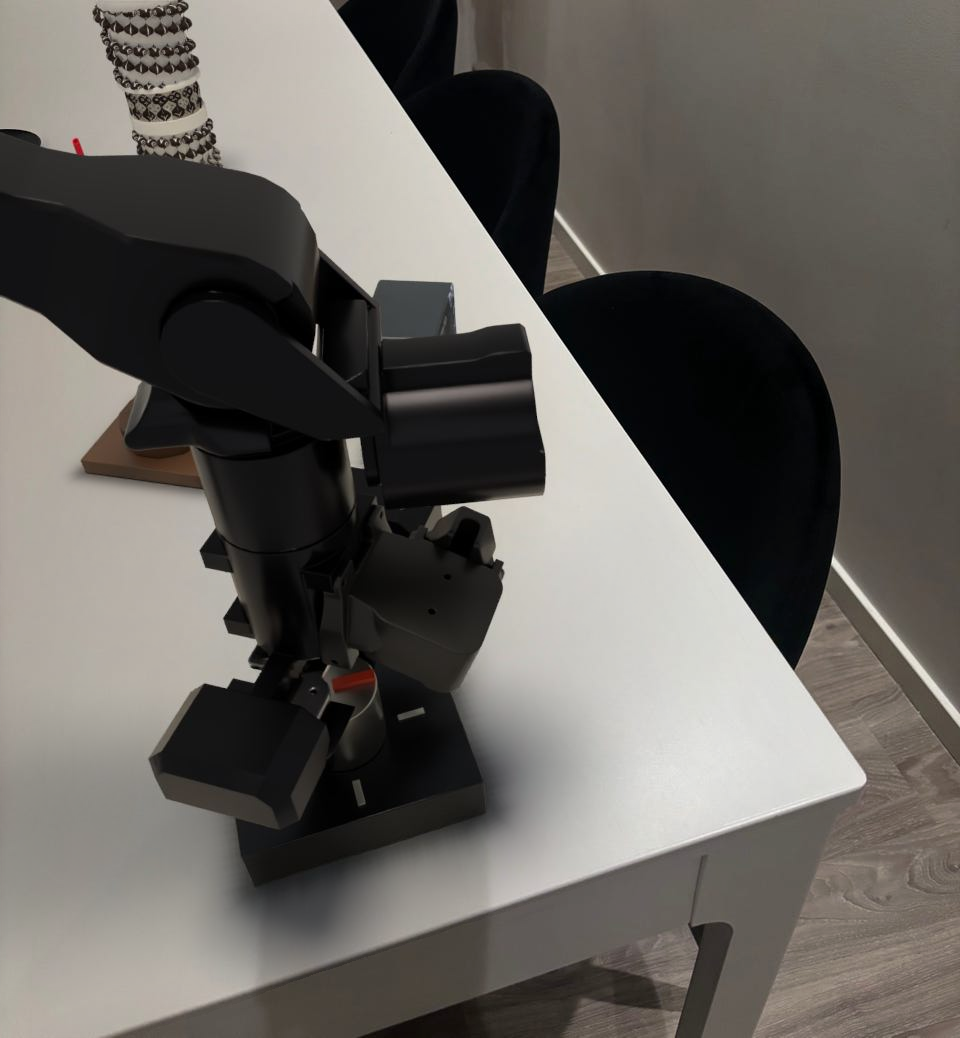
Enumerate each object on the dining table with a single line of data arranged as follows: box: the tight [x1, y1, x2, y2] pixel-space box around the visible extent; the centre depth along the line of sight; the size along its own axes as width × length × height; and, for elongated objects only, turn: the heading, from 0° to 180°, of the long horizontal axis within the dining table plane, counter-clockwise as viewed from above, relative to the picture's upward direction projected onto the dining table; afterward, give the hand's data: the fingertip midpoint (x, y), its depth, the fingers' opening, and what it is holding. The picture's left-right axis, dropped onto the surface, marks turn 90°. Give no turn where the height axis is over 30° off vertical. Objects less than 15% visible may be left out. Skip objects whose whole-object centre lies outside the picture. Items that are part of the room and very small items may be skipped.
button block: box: [80, 394, 203, 489], centre depth 72 cm, size 10×9×3 cm
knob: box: [324, 657, 386, 771], centre depth 48 cm, size 4×4×4 cm
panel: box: [234, 662, 487, 887], centre depth 51 cm, size 12×10×3 cm
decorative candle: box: [92, 0, 224, 168], centre depth 99 cm, size 9×9×25 cm
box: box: [371, 279, 458, 341], centre depth 70 cm, size 8×6×11 cm
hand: (341, 729), depth 49 cm, fingers closed on knob, 4 cm apart
